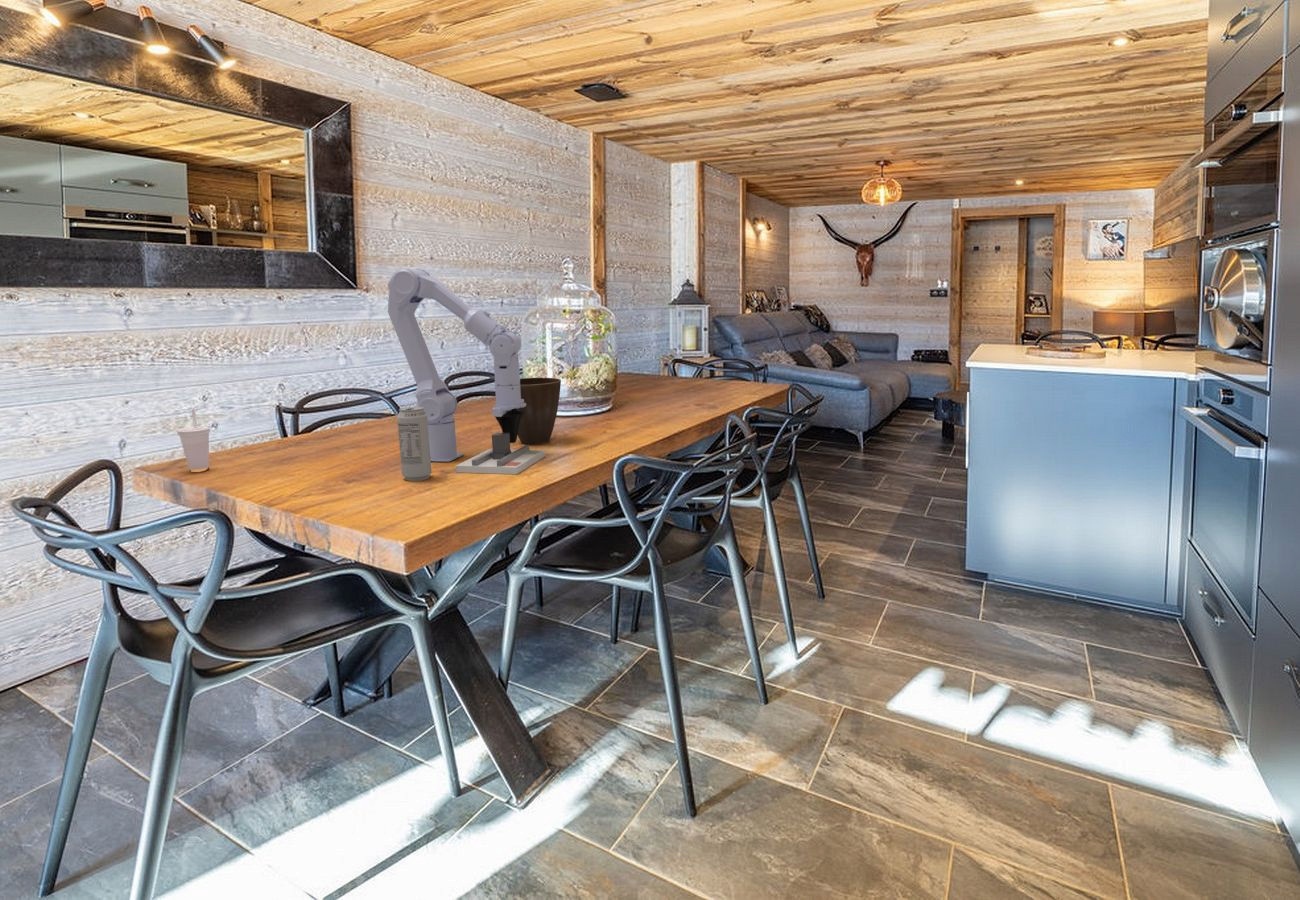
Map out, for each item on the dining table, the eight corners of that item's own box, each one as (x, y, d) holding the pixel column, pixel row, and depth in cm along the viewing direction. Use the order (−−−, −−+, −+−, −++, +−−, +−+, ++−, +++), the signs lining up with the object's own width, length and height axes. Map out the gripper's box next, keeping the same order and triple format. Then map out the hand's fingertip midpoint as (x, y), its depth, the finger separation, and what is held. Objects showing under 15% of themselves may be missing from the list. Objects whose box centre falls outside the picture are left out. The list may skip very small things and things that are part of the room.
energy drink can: (437, 476, 164) (432, 406, 161) (418, 482, 158) (412, 411, 155) (415, 473, 166) (410, 405, 163) (396, 480, 161) (389, 409, 158)
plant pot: (538, 450, 189) (534, 385, 186) (493, 444, 197) (489, 382, 193) (575, 439, 201) (572, 379, 198) (531, 434, 209) (528, 376, 206)
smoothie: (221, 468, 175) (213, 408, 172) (195, 475, 169) (186, 412, 166) (203, 466, 178) (194, 407, 175) (176, 472, 172) (167, 411, 169)
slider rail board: (456, 472, 167) (455, 460, 166) (489, 455, 184) (489, 444, 183) (516, 474, 164) (515, 462, 163) (544, 456, 181) (544, 445, 181)
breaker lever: (492, 459, 172) (490, 435, 171) (499, 455, 176) (497, 432, 175) (504, 459, 171) (503, 435, 170) (511, 455, 175) (510, 432, 174)
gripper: (512, 388, 168) (515, 449, 171) (535, 380, 182) (537, 436, 185) (482, 388, 170) (486, 448, 172) (507, 380, 183) (510, 436, 186)
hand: (510, 442), depth 179 cm, fingers closed
